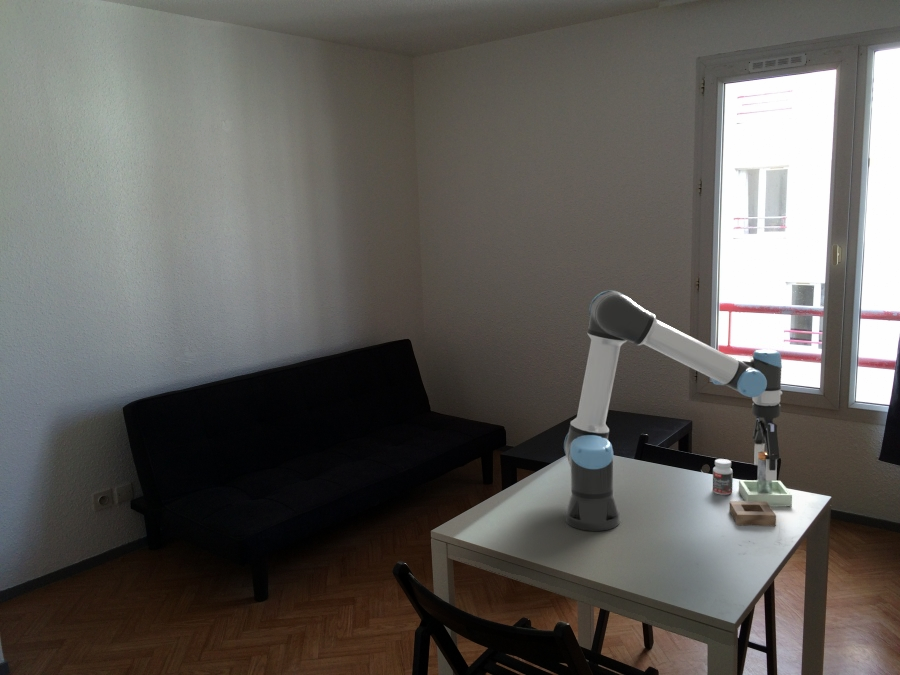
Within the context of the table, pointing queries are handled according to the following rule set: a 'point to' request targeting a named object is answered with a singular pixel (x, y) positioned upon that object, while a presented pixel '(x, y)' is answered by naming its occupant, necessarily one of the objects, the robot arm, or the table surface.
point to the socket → (752, 513)
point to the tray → (777, 497)
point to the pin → (763, 475)
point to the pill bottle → (722, 477)
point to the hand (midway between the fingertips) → (764, 472)
